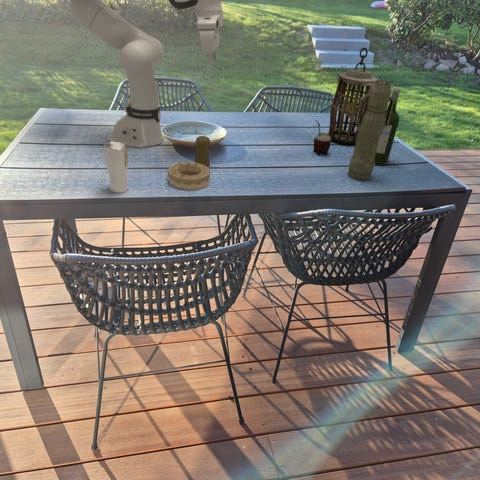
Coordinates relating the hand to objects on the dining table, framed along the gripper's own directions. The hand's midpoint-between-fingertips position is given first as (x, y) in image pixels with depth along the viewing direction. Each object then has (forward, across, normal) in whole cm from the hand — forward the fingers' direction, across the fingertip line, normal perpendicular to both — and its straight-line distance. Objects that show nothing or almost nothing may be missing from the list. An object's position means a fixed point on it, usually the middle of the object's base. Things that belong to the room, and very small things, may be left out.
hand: (212, 63), depth 154 cm
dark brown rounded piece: (+34, +12, -4) cm, 37 cm away
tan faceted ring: (+34, +27, -6) cm, 44 cm away
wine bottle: (+41, -10, +66) cm, 78 cm away
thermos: (+40, +7, +56) cm, 69 cm away
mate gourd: (+39, -13, +42) cm, 59 cm away
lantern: (+40, -34, +55) cm, 77 cm away
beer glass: (+32, +38, -27) cm, 57 cm away
